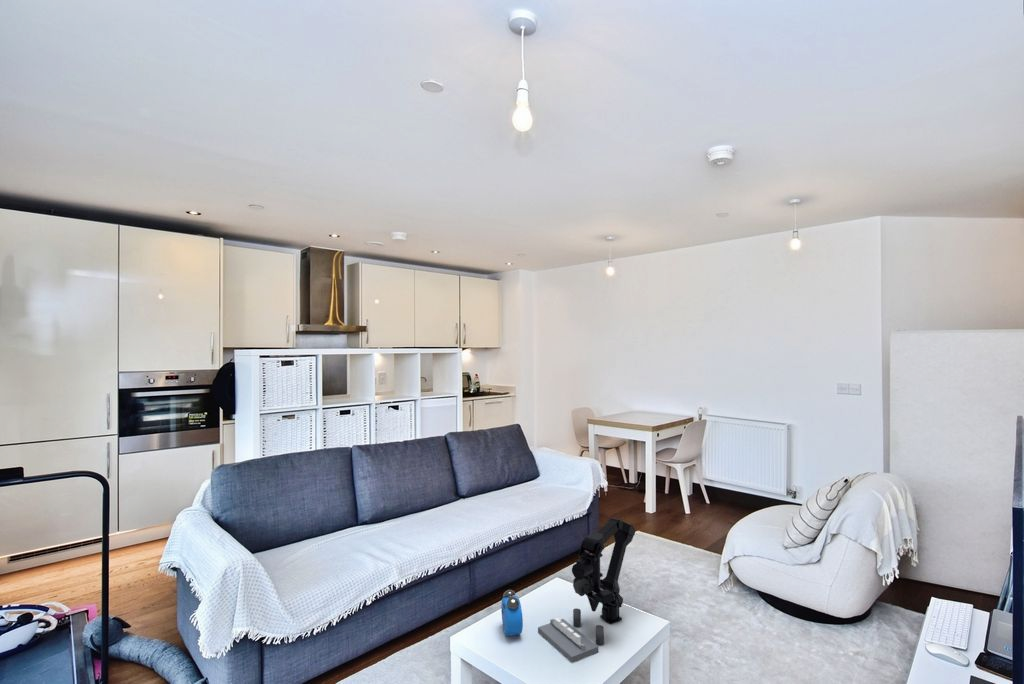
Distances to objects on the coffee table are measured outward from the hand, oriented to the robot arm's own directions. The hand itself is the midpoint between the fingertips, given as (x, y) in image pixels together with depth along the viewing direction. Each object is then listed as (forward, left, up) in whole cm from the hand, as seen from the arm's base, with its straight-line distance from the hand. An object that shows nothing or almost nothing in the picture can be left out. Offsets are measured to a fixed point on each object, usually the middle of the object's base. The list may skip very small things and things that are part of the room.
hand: (593, 611), depth 190 cm
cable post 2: (+3, +7, -8) cm, 11 cm away
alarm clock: (+28, -16, -8) cm, 33 cm away
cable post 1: (+3, -7, -8) cm, 11 cm away
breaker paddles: (+13, 0, -5) cm, 14 cm away
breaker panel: (+13, 0, -8) cm, 15 cm away
